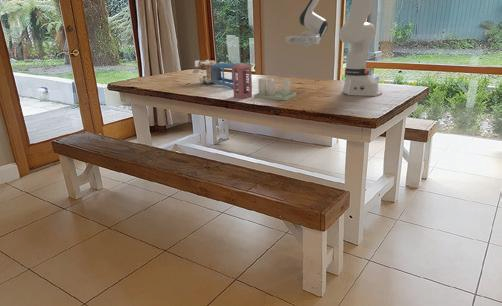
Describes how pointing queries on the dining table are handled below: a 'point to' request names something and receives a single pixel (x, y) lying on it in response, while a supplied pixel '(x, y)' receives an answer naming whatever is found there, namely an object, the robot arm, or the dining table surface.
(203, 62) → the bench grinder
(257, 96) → the tray
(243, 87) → the miniature model
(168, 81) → the dining table surface
